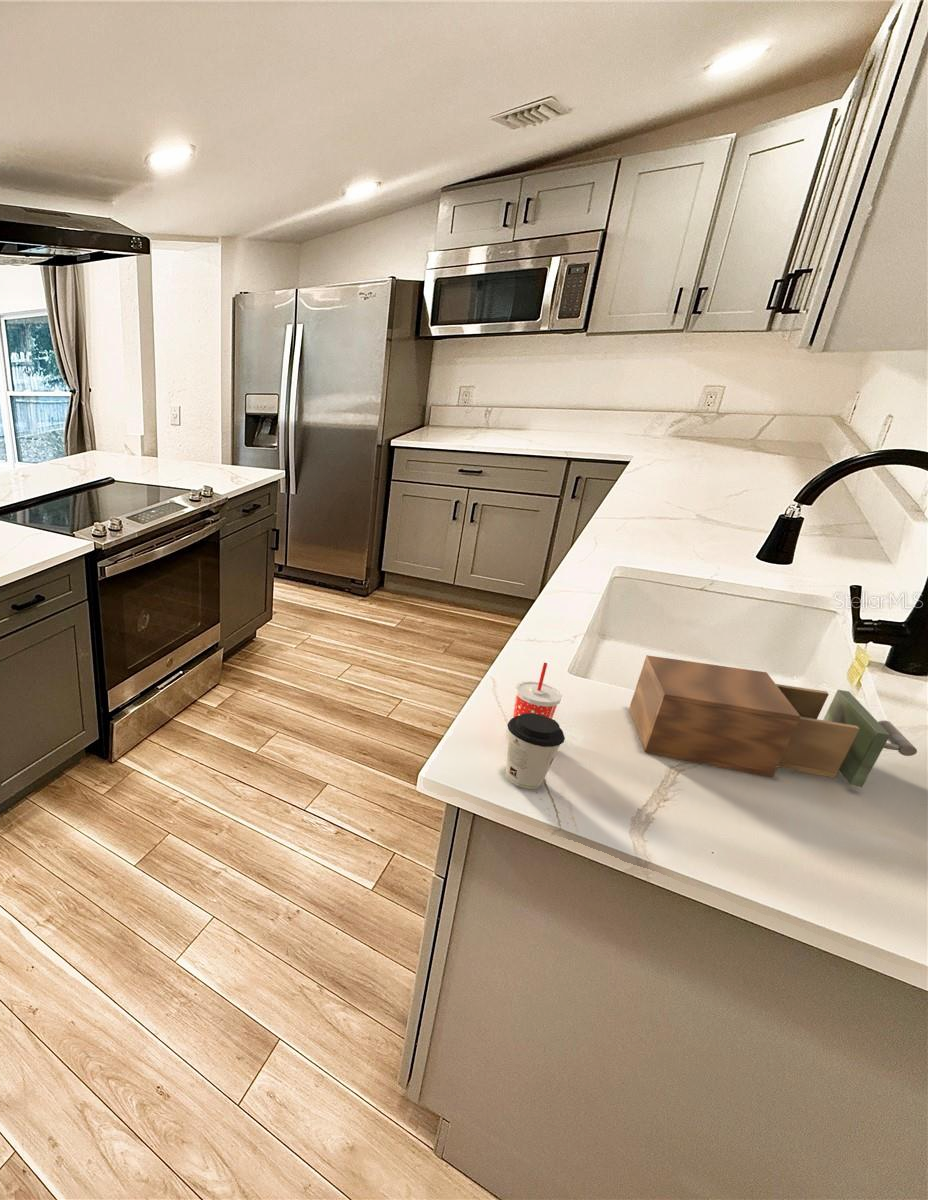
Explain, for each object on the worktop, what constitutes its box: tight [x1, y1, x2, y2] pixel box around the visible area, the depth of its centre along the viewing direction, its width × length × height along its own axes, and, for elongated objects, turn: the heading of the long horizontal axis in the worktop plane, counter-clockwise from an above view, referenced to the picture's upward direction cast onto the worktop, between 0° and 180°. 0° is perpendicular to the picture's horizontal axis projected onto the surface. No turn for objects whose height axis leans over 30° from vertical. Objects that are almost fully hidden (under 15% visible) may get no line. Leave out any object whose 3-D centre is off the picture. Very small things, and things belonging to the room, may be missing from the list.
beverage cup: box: [512, 662, 563, 719], centre depth 96 cm, size 6×6×14 cm
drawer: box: [775, 683, 918, 788], centre depth 88 cm, size 18×11×9 cm, turn 62°
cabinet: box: [628, 655, 800, 778], centre depth 94 cm, size 15×13×11 cm
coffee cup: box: [505, 713, 566, 790], centre depth 89 cm, size 7×7×10 cm
